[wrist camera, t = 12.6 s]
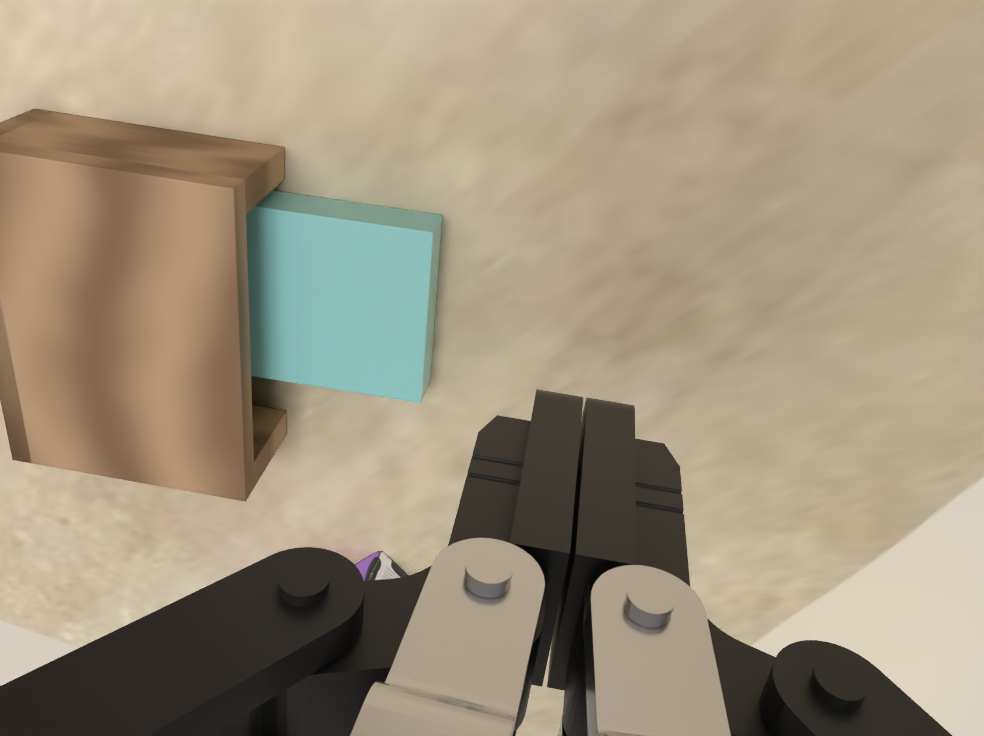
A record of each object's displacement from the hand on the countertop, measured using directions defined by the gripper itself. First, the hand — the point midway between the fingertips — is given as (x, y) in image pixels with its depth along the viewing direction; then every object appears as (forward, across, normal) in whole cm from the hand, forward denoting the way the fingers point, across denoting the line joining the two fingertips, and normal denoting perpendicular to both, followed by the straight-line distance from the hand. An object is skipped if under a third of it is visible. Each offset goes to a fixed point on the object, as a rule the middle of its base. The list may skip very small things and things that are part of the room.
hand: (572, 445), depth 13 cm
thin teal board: (+28, +14, +12) cm, 33 cm away
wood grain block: (+27, +19, +13) cm, 35 cm away
